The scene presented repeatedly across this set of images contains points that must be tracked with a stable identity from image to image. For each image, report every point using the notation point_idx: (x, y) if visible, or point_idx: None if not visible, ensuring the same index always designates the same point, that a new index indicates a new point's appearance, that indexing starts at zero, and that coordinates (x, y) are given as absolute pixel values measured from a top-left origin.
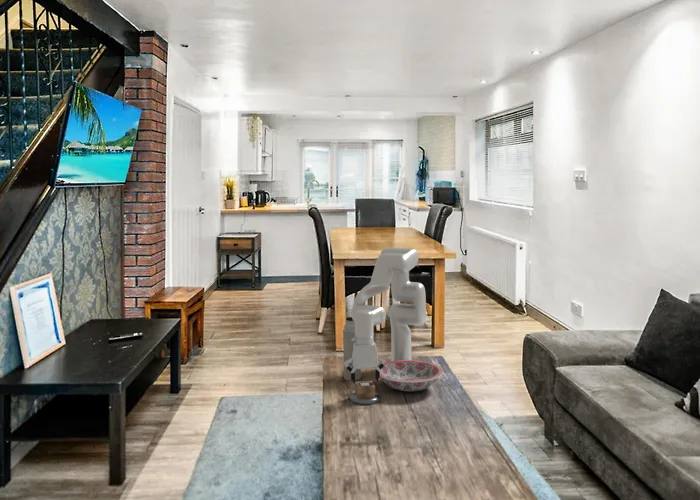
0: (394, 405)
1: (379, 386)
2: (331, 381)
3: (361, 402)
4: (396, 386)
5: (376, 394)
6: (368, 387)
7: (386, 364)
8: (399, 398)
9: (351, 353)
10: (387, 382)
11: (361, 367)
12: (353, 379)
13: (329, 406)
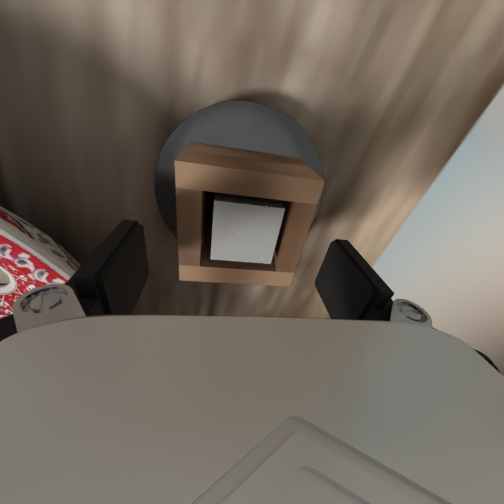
0: (55, 5)
1: (142, 308)
2: None
3: (290, 119)
4: (4, 211)
5: (171, 202)
6: (237, 167)
7: None
8: (28, 145)
9: None
10: (73, 266)
11: (369, 339)
12: (357, 255)
13: (443, 159)
